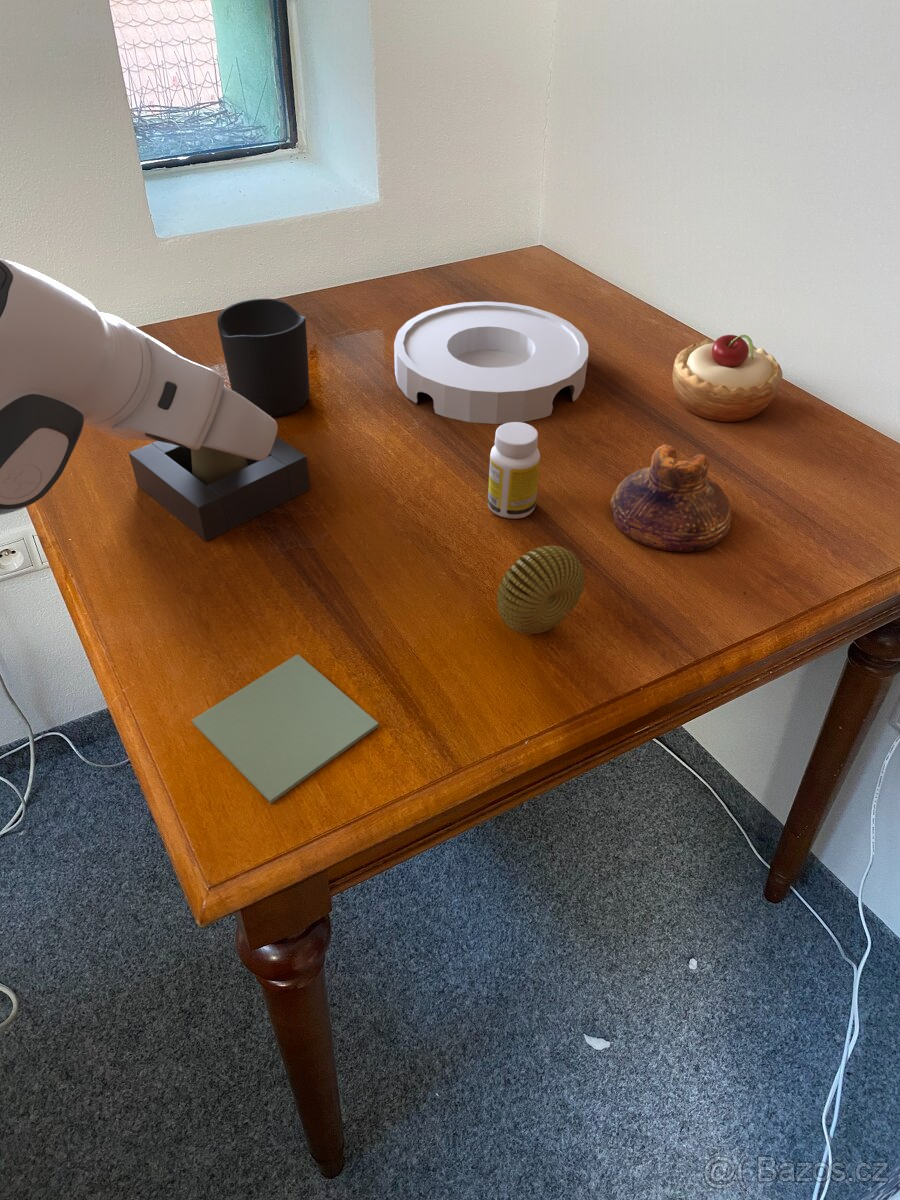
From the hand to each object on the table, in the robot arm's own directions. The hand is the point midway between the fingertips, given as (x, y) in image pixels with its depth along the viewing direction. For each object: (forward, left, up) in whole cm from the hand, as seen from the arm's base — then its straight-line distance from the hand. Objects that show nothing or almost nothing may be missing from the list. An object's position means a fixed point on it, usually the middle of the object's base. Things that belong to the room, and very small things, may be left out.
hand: (218, 429), depth 85 cm
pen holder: (+13, +11, -7) cm, 18 cm away
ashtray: (+36, -2, -7) cm, 37 cm away
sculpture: (+7, -35, -7) cm, 37 cm away
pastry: (+51, -25, -7) cm, 58 cm away
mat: (-15, -29, -6) cm, 33 cm away
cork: (-1, 0, -7) cm, 7 cm away
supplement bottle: (+18, -22, -7) cm, 30 cm away
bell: (+28, -34, -7) cm, 45 cm away
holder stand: (-1, 0, -6) cm, 6 cm away
